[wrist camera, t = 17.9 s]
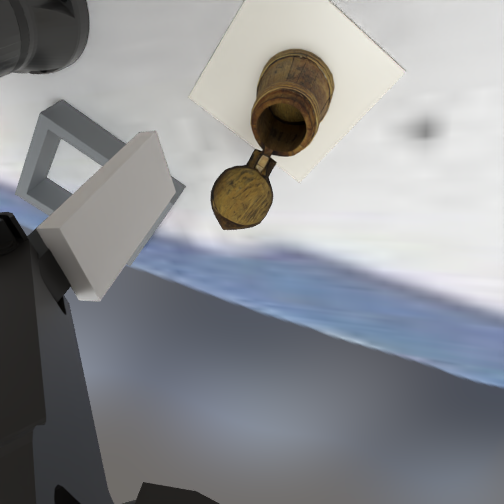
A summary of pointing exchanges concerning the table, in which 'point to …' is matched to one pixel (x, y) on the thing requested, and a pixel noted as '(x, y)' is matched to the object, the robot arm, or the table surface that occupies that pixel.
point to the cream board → (295, 37)
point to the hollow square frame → (85, 140)
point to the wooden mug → (274, 133)
